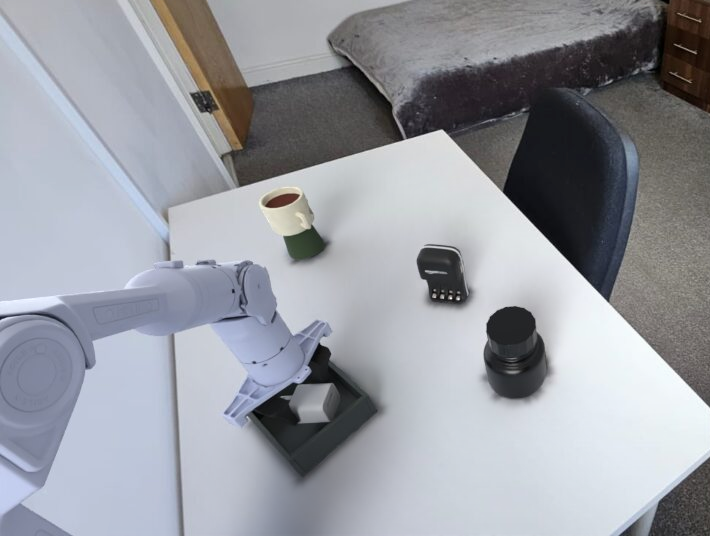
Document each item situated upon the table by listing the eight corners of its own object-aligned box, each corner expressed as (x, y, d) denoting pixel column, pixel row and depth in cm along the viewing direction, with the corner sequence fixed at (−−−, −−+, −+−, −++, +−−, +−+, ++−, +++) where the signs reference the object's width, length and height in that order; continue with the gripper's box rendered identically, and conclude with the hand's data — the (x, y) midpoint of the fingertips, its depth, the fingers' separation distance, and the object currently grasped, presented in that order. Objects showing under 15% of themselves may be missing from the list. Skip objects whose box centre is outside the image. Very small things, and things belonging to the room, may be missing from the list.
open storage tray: (302, 477, 60) (288, 462, 57) (254, 423, 65) (239, 406, 62) (377, 411, 67) (368, 394, 64) (328, 367, 72) (318, 349, 69)
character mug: (342, 250, 92) (318, 197, 83) (309, 272, 87) (280, 218, 78) (307, 231, 96) (281, 178, 87) (274, 251, 91) (243, 197, 83)
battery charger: (425, 304, 82) (410, 257, 74) (433, 288, 85) (419, 241, 77) (464, 308, 81) (453, 261, 74) (470, 292, 84) (461, 245, 77)
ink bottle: (558, 360, 74) (556, 311, 66) (534, 409, 67) (529, 361, 60) (502, 342, 76) (494, 292, 68) (475, 388, 70) (462, 339, 62)
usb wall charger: (331, 424, 63) (321, 408, 60) (277, 426, 62) (265, 411, 60) (341, 397, 66) (331, 380, 63) (289, 399, 65) (278, 383, 63)
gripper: (235, 408, 48) (287, 465, 57) (335, 307, 59) (366, 368, 68) (185, 387, 50) (243, 445, 59) (291, 292, 60) (327, 354, 69)
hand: (306, 403), depth 64 cm, fingers closed on usb wall charger, 5 cm apart
